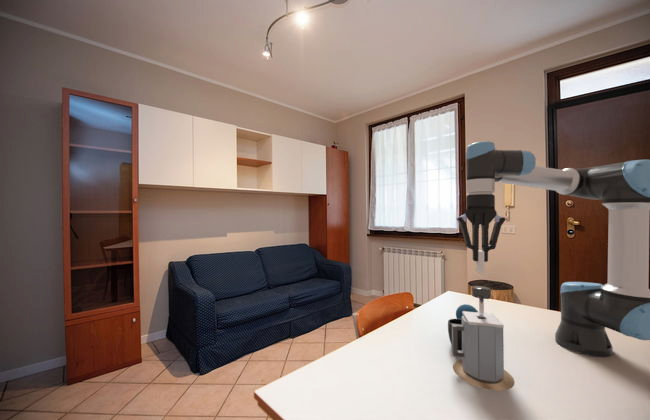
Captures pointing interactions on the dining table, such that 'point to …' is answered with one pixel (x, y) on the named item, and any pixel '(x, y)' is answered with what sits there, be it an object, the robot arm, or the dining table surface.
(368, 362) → the dining table surface
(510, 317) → the dining table surface
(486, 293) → the plunger
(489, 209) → the robot arm
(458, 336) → the mug
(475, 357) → the carafe
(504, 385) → the cork trivet
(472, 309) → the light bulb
